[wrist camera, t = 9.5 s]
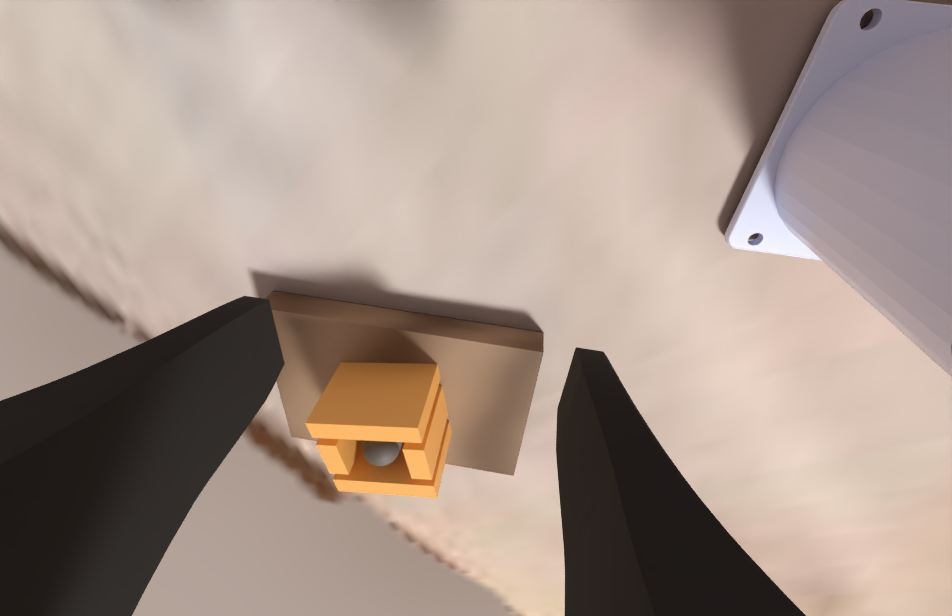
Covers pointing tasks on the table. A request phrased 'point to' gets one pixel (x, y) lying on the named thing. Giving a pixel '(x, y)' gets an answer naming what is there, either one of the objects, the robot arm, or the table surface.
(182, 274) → the table surface
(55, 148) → the table surface
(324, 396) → the orange hollow frame block
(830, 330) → the table surface
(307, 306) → the keeper base
